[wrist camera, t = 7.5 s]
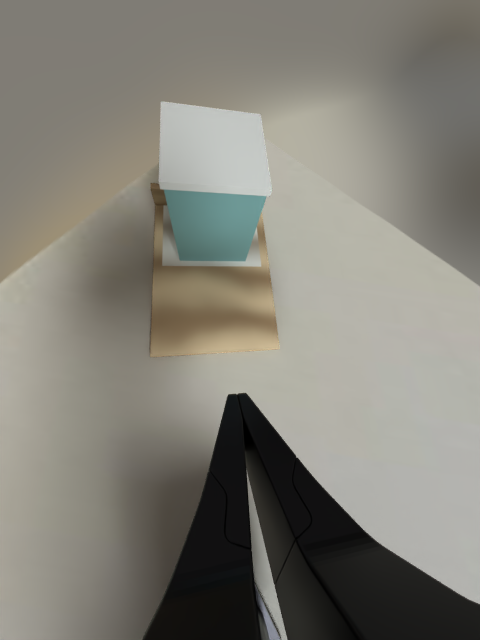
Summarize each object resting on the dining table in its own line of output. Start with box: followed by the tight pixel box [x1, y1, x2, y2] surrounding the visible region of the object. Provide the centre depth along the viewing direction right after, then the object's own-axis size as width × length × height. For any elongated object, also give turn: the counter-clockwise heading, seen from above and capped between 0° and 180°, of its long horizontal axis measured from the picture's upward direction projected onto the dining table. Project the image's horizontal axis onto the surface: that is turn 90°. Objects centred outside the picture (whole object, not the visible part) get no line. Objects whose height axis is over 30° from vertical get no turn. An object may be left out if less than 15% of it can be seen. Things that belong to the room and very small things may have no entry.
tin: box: [159, 102, 272, 261], centre depth 22 cm, size 8×8×11 cm
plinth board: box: [150, 183, 280, 357], centre depth 25 cm, size 20×14×3 cm
